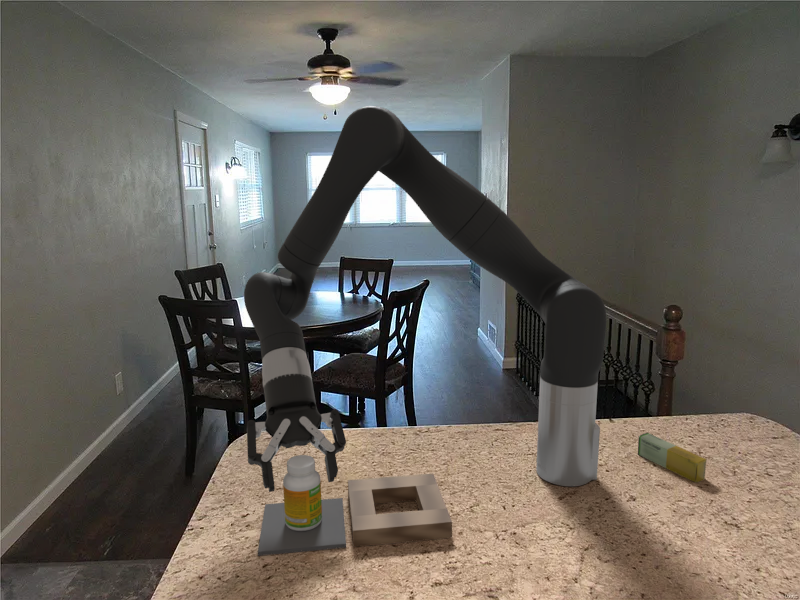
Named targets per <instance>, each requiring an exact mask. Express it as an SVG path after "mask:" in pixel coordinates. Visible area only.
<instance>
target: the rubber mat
mask: <svg viewBox="0 0 800 600" xmlns="http://www.w3.org/2000/svg"><path fill="white" fill-rule="evenodd" d="M343 499H344V498H343V497H338V498H337V497H336V498H327V499H321V502H322V521H321V523H320V524H319V525H318V526H317V527H315V528H313V529H311V530H306V531H295V530H292V529H290V528H289V527H287V525H286V523H285V508H284V502H276V503H265V505H264V511H263V516H262V521H261V528H260V533H259V534H260V535H259V542H258V548H257V556H259V557H260V556H269V555H271V556H272V555H279V554H290V553H291V554H293V553H302V552H312V551H323V550H332V549H343V548H344V549H345V548H347V537H346V526H345V525H346V524H345V512H344V500H343Z"/></svg>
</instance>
